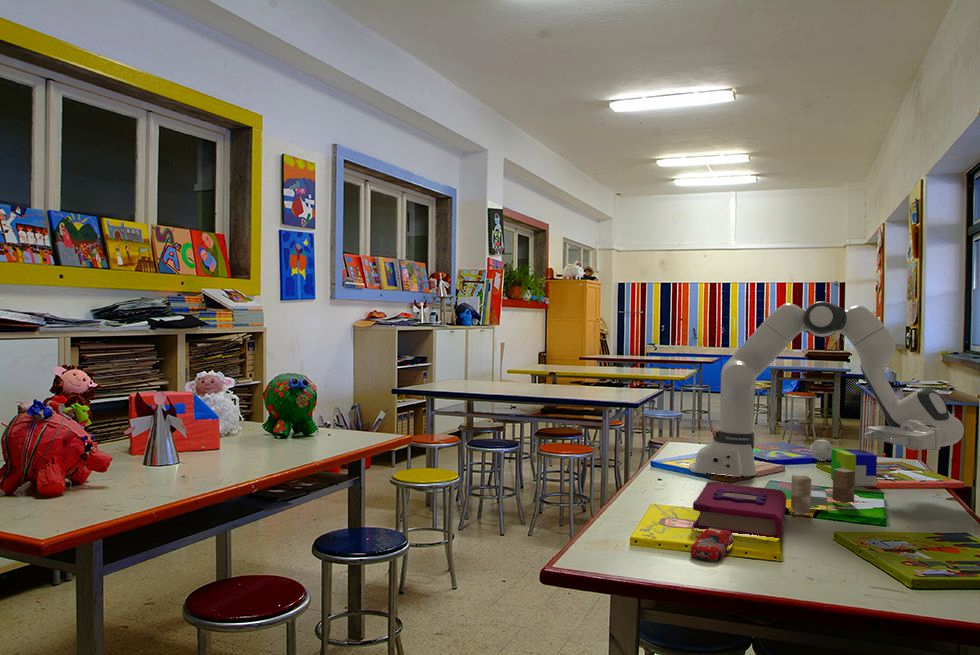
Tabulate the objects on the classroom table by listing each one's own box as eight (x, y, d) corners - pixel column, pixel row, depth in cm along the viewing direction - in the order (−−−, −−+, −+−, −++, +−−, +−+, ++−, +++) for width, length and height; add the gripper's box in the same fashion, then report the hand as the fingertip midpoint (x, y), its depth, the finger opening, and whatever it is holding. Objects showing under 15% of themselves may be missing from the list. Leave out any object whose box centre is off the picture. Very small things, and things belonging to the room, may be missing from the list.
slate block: (799, 509, 206) (799, 495, 206) (798, 503, 213) (798, 489, 213) (826, 511, 204) (826, 497, 204) (824, 505, 211) (824, 492, 210)
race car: (716, 566, 158) (716, 544, 158) (686, 560, 162) (686, 538, 162) (737, 546, 172) (738, 526, 171) (709, 541, 175) (710, 520, 175)
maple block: (794, 514, 199) (796, 478, 199) (790, 510, 203) (791, 475, 203) (810, 515, 199) (811, 479, 199) (805, 511, 203) (806, 476, 203)
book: (785, 515, 200) (786, 488, 200) (780, 544, 174) (781, 513, 174) (706, 505, 209) (707, 479, 208) (691, 532, 183) (691, 502, 183)
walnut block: (842, 506, 209) (843, 472, 209) (832, 503, 213) (833, 469, 213) (853, 505, 210) (855, 471, 210) (843, 502, 214) (844, 468, 214)
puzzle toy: (875, 486, 236) (876, 455, 235) (844, 485, 236) (845, 454, 236) (860, 479, 246) (861, 449, 245) (830, 478, 246) (831, 448, 246)
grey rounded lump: (807, 462, 274) (822, 445, 269) (802, 447, 282) (817, 430, 276) (827, 470, 275) (842, 453, 270) (821, 455, 282) (836, 438, 277)
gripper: (886, 419, 229) (851, 423, 225) (944, 428, 210) (907, 432, 206) (887, 439, 229) (851, 443, 225) (945, 450, 210) (907, 455, 206)
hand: (878, 438), depth 215 cm, fingers open, 8 cm apart
